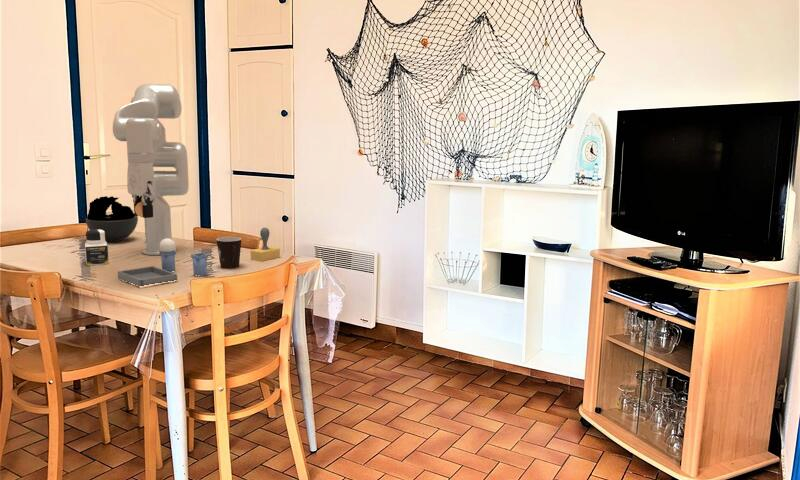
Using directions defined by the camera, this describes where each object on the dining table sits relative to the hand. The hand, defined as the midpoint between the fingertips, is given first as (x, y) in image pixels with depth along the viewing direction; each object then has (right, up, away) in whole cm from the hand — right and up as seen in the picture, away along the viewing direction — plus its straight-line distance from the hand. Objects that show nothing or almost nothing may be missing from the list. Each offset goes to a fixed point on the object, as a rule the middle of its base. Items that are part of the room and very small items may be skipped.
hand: (143, 215), depth 204 cm
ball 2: (+2, -10, +15) cm, 18 cm away
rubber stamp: (+30, -15, +40) cm, 52 cm away
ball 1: (0, +2, 0) cm, 2 cm away
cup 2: (+14, -19, +12) cm, 27 cm away
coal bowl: (-40, -8, +68) cm, 79 cm away
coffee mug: (+21, -18, +24) cm, 36 cm away
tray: (0, -21, +4) cm, 21 cm away
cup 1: (+2, -18, +17) cm, 25 cm away
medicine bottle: (-27, -16, +27) cm, 42 cm away
